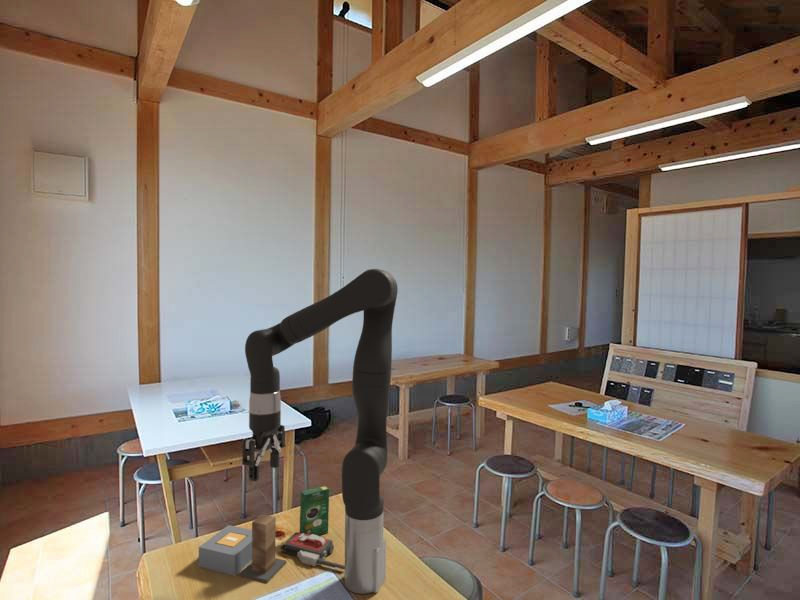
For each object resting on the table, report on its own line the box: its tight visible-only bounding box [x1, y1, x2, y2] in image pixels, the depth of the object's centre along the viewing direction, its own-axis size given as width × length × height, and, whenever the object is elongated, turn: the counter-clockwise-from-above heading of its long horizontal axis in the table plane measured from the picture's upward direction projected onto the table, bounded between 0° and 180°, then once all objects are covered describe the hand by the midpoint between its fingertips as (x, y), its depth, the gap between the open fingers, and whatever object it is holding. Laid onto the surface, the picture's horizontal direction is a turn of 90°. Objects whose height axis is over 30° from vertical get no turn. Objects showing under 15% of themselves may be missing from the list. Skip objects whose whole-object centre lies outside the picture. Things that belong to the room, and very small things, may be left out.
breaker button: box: [216, 532, 246, 548], centre depth 114 cm, size 5×5×4 cm
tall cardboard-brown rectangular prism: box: [251, 513, 277, 573], centre depth 109 cm, size 4×4×12 cm
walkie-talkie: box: [280, 531, 345, 570], centre depth 115 cm, size 9×4×20 cm
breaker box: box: [198, 524, 252, 577], centre depth 114 cm, size 11×11×5 cm
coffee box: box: [299, 485, 330, 536], centre depth 125 cm, size 8×3×13 cm, turn 126°
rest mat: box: [239, 557, 287, 583], centre depth 109 cm, size 8×8×1 cm
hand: (264, 473), depth 109 cm, fingers open, 8 cm apart
